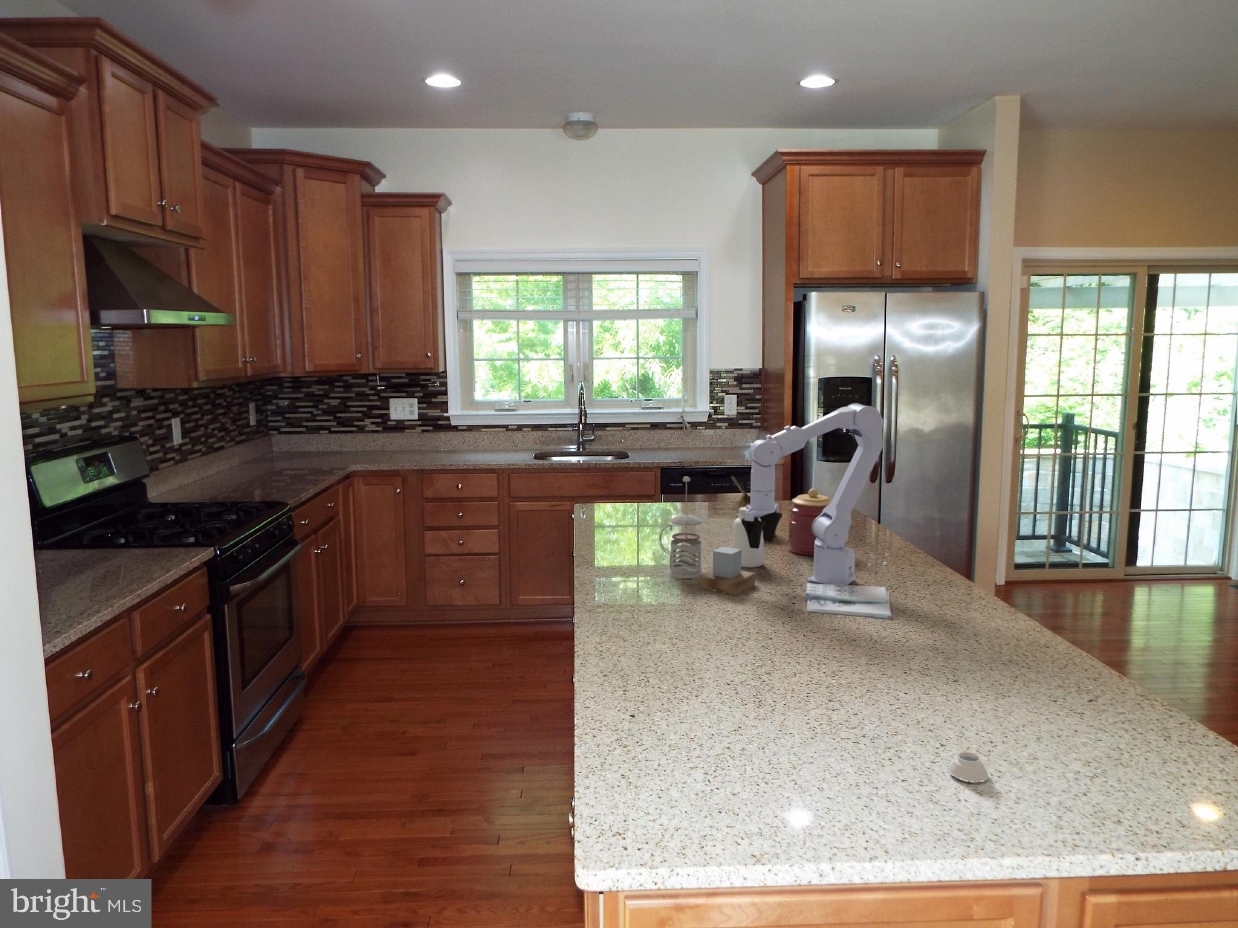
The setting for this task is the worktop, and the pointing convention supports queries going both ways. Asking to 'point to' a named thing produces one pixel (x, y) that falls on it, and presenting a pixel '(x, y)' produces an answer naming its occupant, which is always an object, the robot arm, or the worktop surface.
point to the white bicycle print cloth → (848, 600)
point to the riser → (727, 582)
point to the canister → (805, 521)
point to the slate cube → (727, 562)
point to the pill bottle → (746, 543)
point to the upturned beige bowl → (968, 767)
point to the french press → (684, 547)
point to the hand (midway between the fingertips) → (761, 544)
